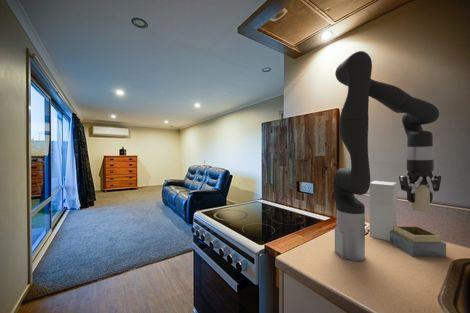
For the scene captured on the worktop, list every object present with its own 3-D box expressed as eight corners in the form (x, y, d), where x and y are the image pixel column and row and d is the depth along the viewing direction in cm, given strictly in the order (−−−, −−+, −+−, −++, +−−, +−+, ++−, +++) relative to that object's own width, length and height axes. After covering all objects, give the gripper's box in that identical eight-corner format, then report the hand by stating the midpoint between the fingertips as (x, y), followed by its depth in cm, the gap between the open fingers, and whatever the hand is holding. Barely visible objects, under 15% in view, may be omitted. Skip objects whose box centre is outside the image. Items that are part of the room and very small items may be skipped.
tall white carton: (393, 242, 82) (393, 185, 82) (369, 236, 89) (369, 182, 88) (397, 236, 88) (397, 182, 88) (373, 230, 95) (373, 180, 94)
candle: (433, 212, 71) (433, 185, 70) (416, 211, 72) (416, 185, 72) (422, 207, 76) (422, 182, 76) (406, 207, 77) (406, 182, 77)
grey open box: (412, 256, 71) (412, 236, 71) (389, 242, 82) (389, 225, 82) (446, 256, 71) (446, 236, 71) (418, 242, 82) (418, 225, 82)
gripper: (408, 159, 70) (408, 205, 71) (449, 158, 69) (449, 204, 70) (392, 158, 78) (392, 199, 78) (429, 157, 77) (429, 199, 77)
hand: (419, 201), depth 74 cm, fingers closed on candle, 5 cm apart
